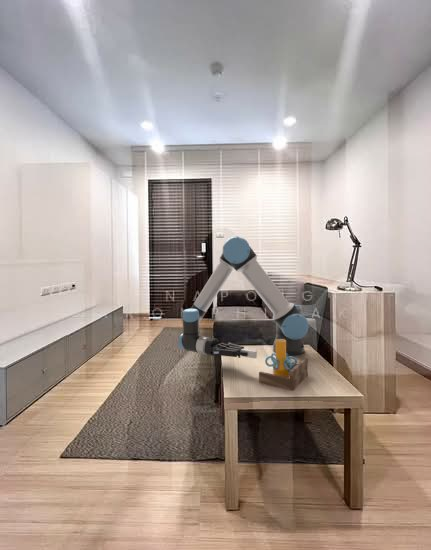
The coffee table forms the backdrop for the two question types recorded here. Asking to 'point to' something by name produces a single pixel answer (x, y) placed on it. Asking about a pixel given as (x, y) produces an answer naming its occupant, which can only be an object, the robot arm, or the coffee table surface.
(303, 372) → the pocket
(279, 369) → the cylinder
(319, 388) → the coffee table surface
